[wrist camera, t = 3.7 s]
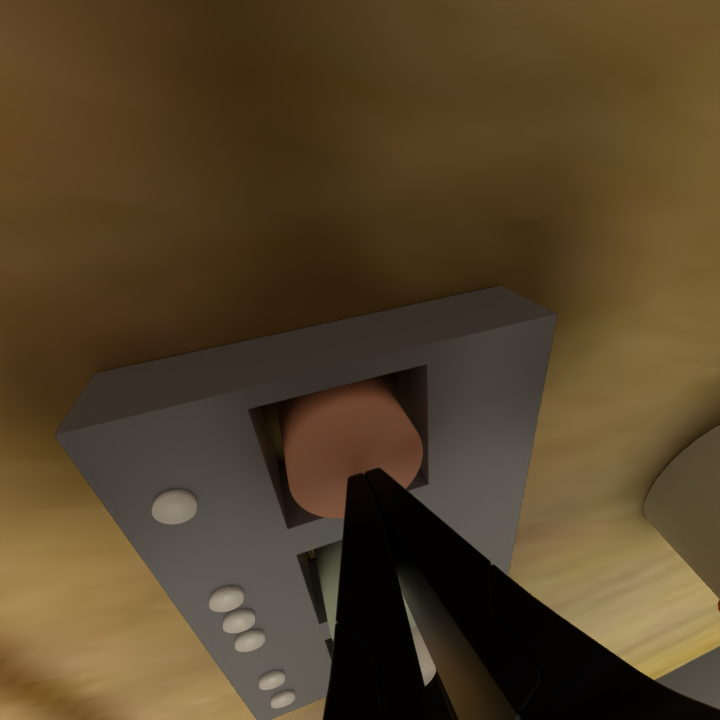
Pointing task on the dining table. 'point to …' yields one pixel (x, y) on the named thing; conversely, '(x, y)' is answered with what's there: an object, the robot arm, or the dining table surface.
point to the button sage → (336, 581)
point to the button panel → (270, 483)
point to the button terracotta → (345, 442)
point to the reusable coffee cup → (691, 507)
